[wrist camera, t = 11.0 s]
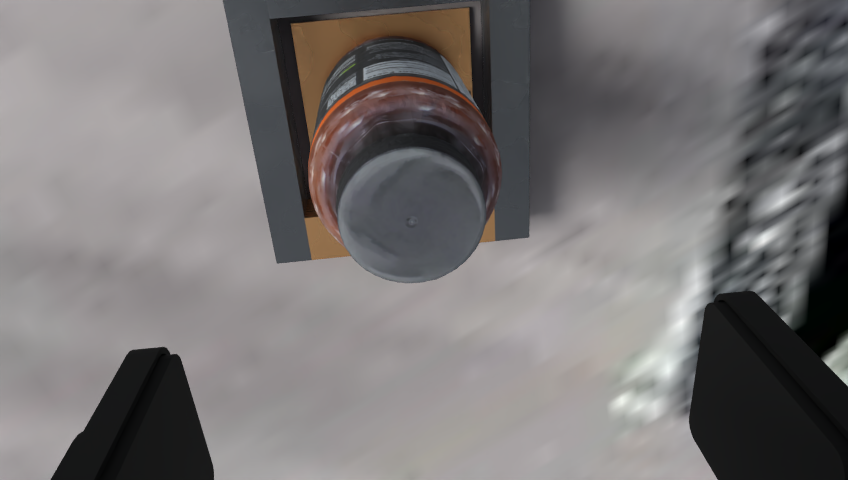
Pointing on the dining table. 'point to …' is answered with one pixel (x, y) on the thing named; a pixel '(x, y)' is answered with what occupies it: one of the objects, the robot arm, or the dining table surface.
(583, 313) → the dining table surface
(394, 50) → the supplement bottle
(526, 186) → the grey rectangular frame
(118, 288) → the dining table surface
